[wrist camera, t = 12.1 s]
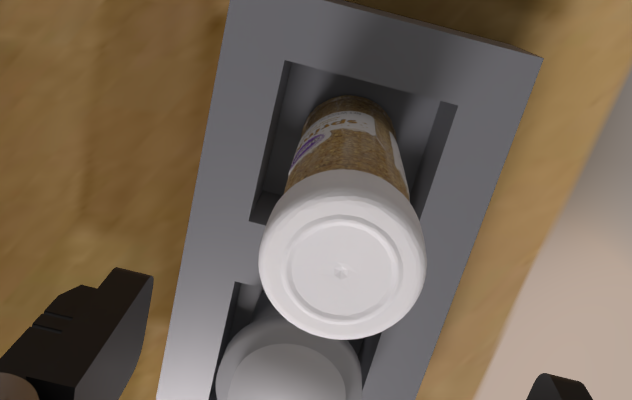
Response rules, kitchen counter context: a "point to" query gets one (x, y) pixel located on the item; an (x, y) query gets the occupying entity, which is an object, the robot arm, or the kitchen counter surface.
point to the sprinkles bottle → (344, 227)
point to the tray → (272, 175)
